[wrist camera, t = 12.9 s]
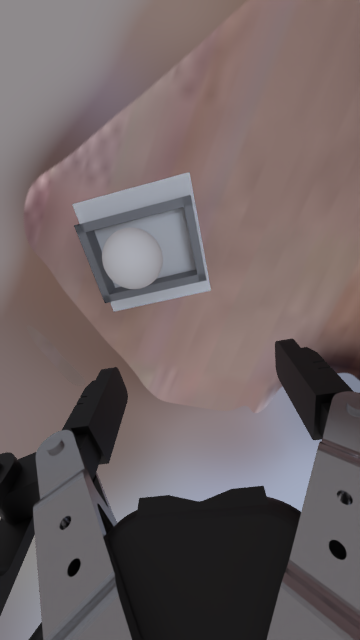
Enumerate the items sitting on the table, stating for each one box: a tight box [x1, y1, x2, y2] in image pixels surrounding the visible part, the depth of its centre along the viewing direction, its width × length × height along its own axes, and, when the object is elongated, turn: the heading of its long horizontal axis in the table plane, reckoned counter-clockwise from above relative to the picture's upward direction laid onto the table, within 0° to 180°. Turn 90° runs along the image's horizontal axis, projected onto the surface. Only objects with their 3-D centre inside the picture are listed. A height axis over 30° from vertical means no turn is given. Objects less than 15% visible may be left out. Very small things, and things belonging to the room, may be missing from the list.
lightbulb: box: [102, 227, 163, 289], centre depth 26 cm, size 6×6×11 cm
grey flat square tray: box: [72, 172, 211, 312], centre depth 30 cm, size 15×15×3 cm
